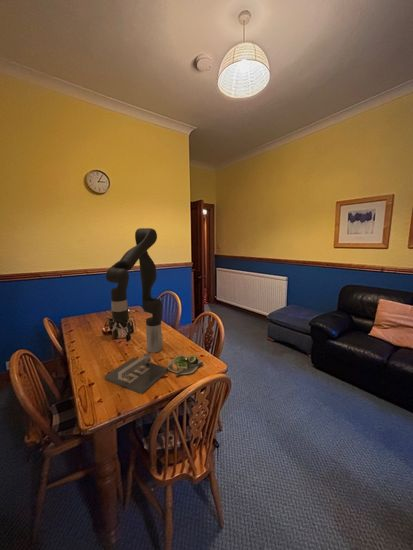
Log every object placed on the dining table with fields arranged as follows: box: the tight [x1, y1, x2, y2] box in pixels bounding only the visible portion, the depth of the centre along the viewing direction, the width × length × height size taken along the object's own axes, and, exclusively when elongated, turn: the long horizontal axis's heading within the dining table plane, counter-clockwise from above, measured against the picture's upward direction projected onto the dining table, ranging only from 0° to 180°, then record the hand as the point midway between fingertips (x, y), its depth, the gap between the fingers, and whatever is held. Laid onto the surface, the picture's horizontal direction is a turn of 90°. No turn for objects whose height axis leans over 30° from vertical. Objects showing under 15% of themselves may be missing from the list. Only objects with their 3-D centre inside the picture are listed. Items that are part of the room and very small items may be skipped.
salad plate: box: [166, 354, 204, 377], centre depth 125 cm, size 19×18×5 cm
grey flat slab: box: [104, 357, 169, 395], centre depth 118 cm, size 20×24×4 cm
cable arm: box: [118, 352, 152, 379], centre depth 117 cm, size 21×4×3 cm, turn 154°
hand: (122, 339), depth 116 cm, fingers open, 8 cm apart
